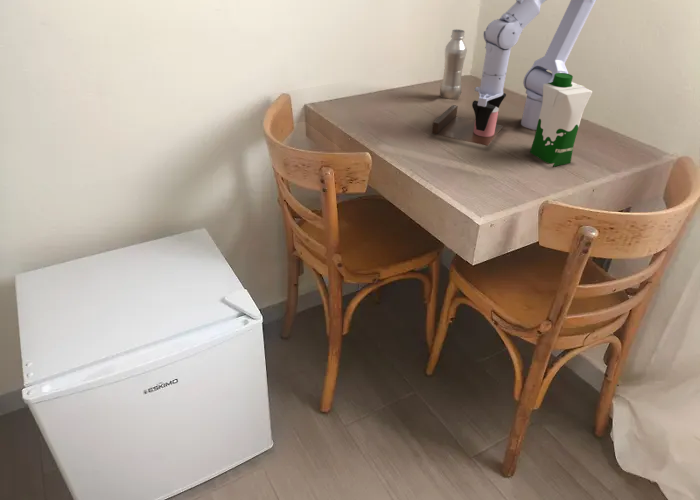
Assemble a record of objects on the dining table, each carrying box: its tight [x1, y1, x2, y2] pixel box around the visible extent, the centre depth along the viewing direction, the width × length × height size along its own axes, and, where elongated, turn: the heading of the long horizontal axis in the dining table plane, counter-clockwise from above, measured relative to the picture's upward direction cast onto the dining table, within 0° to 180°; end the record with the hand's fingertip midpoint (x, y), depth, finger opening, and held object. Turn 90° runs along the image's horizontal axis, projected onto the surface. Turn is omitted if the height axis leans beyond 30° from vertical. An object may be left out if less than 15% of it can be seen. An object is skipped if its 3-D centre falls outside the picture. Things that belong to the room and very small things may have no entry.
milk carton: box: [529, 73, 593, 167], centre depth 126 cm, size 9×9×20 cm
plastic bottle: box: [439, 29, 468, 101], centre depth 160 cm, size 6×7×20 cm
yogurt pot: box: [473, 107, 500, 137], centre depth 140 cm, size 6×6×7 cm
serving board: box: [431, 104, 504, 147], centre depth 143 cm, size 15×15×4 cm
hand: (484, 125), depth 141 cm, fingers open, 7 cm apart
